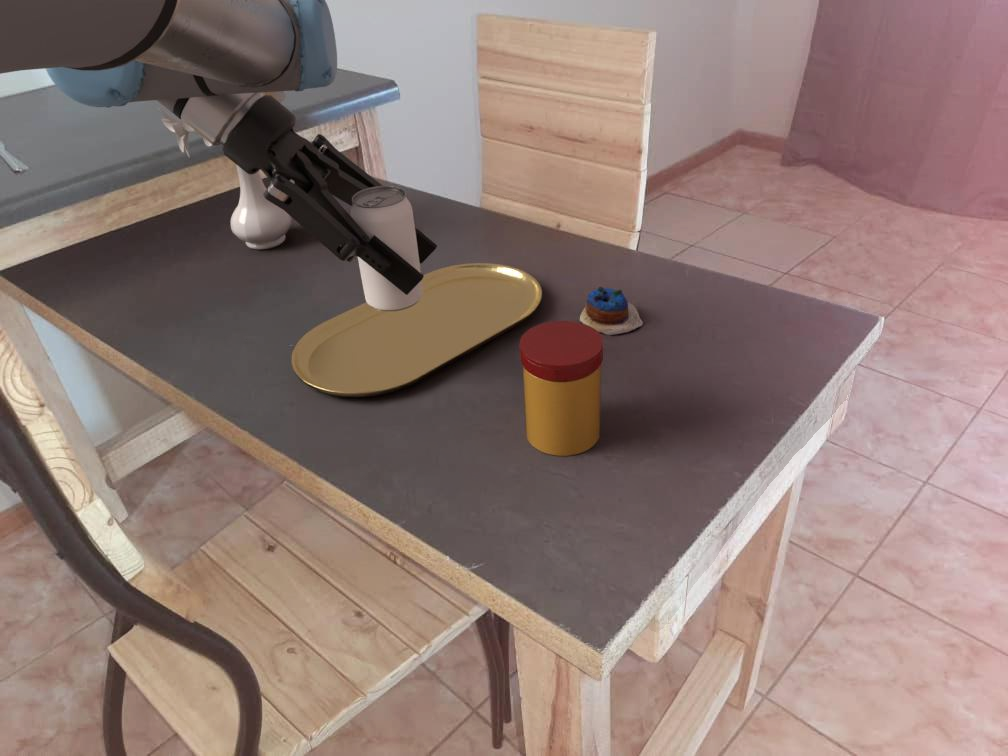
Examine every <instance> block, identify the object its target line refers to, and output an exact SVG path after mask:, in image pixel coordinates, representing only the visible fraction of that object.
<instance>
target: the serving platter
mask: <svg viewBox="0 0 1008 756" xmlns="http://www.w3.org/2000/svg"><path fill="white" fill-rule="evenodd" d="M423 275H424V277H423V279H422V286H423V295H422V297H421V298H420V300H419V301H418V302H417V303H416V304H415V305H413V306H411V307H409V308H407V309H403V310H399V311H380V310H377V309H374V308H373V307H371V306H370V305H369V304H368V303H367V302H366V301H365V302H364V303H362V304H359V305H357V306H354V307H353V308H351V309H348V310H347V311H344V312H342V313H340V314H338V315H335V316H334V317H331V318H330V319H327V320H325V321H324V322H322V323H320V324H318V325H316V326H314V327H313V328H311V329H310V330H309V331H308V332H306V333H305V334H304V335H303V336H302V337H301V338H300V339H299V340H298V342H297V343H296V344H295V346H294V348H293V350H292V353H291V358H290V359H291V361H290V362H291V368H292V370H293V372H294V374H295V375H296V377H297V378H298V379H299V380H300V381H301V382H303V383H304V384H305V385H306V386H308V387H309V388H311V389H314V390H316V391H318V392H321V393H324V394H327V395H331V396H336V397H345V398H346V397H347V398H365V397H366V398H367V397H375V396H380V395H385V394H389V393H393V392H396V391H399V390H402V389H405V388H406V387H409V386H411V385H414V384H416V383H418V382H420V381H422V380H423V379H425V378H427V377H428V376H431V375H432V374H434V373H435V372H437V371H439V370H441V369H443V368H444V367H446V366H448V365H449V364H451V363H453V362H455V361H456V360H458V359H460V358H462V357H464V356H465V355H467V354H469V353H470V352H473V351H474V350H475V349H478V348H479V347H481V346H483V345H485V344H486V343H488V342H490V341H492V340H494V339H496V338H497V337H499V336H501V335H502V334H504V333H506V332H508V331H509V330H511V329H513V328H514V327H516V326H518V325H521V323H523V322H525V321H526V320H528V319H529V318H530V317H531V316H532V315H533V314H534V313H535V312H536V311H537V309H538V308H539V306H540V305H541V302H542V299H543V290H542V286H541V284H540V283H539V281H538V280H537V279H536V278H535V277H533V276H532V275H531V274H530V273H528V272H526V271H524V270H521V269H519V268H516V267H513V266H510V265H505V264H499V263H488V262H475V263H461V264H455V265H449V266H446V267H442V268H439V269H435V270H433V271H430V272H428V273H425V274H423Z"/></svg>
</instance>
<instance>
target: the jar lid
mask: <svg viewBox="0 0 1008 756" xmlns="http://www.w3.org/2000/svg"><path fill="white" fill-rule="evenodd" d="M519 354H520V355H519V356H520V364H521V365H522V368H523V367H524V368H525V370H526V371H528V372H529V373H530V374H532V375H534V376H536V377H538V378H542V379H545V380H550V381H571V380H577V379H580V378H583V377H586V376H588V375H590V374H592V373H593V372H595V371H596V370H597V369H598V368H599V367H600V365H601V366H602V364H603V361H604V339H603V336H602V335H601V332H598V331H597V330H595V329H594V328H592V327H590V326H588V325H586V324H583V323H582V322H580V321H579V322H578V321H573V320H554V321H547V322H543V323H540V324H537V325H535V326H532V327H531V328H529V329H528V330H527V331H525V332H524V334H522V336H521V338H520V340H519Z"/></svg>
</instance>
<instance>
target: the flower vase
mask: <svg viewBox="0 0 1008 756" xmlns="http://www.w3.org/2000/svg"><path fill="white" fill-rule="evenodd" d="M261 95H263V96H265V95H268V96H269V95H271V96H273V97H274V98H275V99H276V100H277V101H278V102H280V103H283V102H284V101H285V100H286V97H287V95H286V91H277V92H262V93H261ZM282 105H283V106H284V107H285V108H287V109H288V110H289V111H290V112H291V113H292V111H291V110H290V109H289V108H288V106H286V105H284V104H282ZM156 108H157V110H158V111H159V112H160V113H161V115H162V116H163V117H164V118H161V122H162V123H163V125H164V126H165V127H166V128H167V129H168V130H169V131H170V132H172V133H176V142H177V145H178V147H179V150H180V151H181V152H182V154H184V153H185V152H186V154H187V156H188V159H190V158H191V156H190V147H189V145H190V144H189V143H190V142H189V133H191V132H192V133H193V132H194V134H197V133H196V132H195V131H194V129H193V128H192V127H190V126H189V125H188V124H187V123H185V122H184V121H182V120H180V119H178V118H176V117H174V116H172V115H170V114H169V113H167V112H166V111H164V110H163V109H161V108H159V106H156ZM202 140H203V142H204V144H205V146H206V147H212V146H213V145H212V144H211V143H210V142H209V141H207V140H206V139H205V138H204V137H203V136H202ZM235 167H236V171H237V175H238V181H239V199H238V200H239V201H238V204H237V206H236V207H235V208H234V210H233V212H232V214H231V217H230V220H229V221H230V222H229V224H230V229H231V232H232V234H234V236H236V238H238V239H239V240H240V241H242V242H244V243H245V245H246V246H247V247H248V248H250V249H252V250H256V251H257V250H258V251H259V250H268V249H269V250H270V249H272V248H276V247H278V246H281V244H283V243H284V242H285V241H286V237H287V236H286V234H287V233H288V231H289V230H290V229H291V225H292V221H293V218H292V217H291V216H290V215H289V214H288V213H287V212H285V211H284V210H283V209H281V208H279V207H278V206H276V205H275V204H273V203H271V202H270V201H268V200H267V199H266V198H265V197H264V192H265V191H266V190H267V187H266V185H265V183H264V181H263V179H262V175H261V172H260V170H259V171H258V172H257V173H255V174H248V173H246V172H245V171H244V170H243V169H241V168H240V167H239V166H238V165H236V164H235Z"/></svg>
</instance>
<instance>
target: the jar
mask: <svg viewBox="0 0 1008 756" xmlns="http://www.w3.org/2000/svg"><path fill="white" fill-rule="evenodd" d="M522 380H523V382H522V383H523V401H524V417H525V419H524V421H525V436H526V438H527V441H528V442H529V444H530V445H531V446H532V447H533V448H534V449H536V450H538V451H539V452H542V453H544V454H547V455H550V456H556V457H568V456H569V457H570V456H575V455H580V454H581V453H584V452H586V451H588V450H590V449H591V448H592V447H594V446H595V445H596V444H597V442H598V441H599V439H600V437H601V405H602V404H601V401H602V399H601V398H602V364H601V365H600V367H599V368H598V369H597V370H596V371H595V372H593V373H592V374H590V375H588V376H586V377H583V378H580V379H577V380H571V381H550V380H545V379H542V378H538V377H536V376H534V375H532V374H530V373H529V372H528V371H526V370H525V368H524V367H523V366H522Z"/></svg>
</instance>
